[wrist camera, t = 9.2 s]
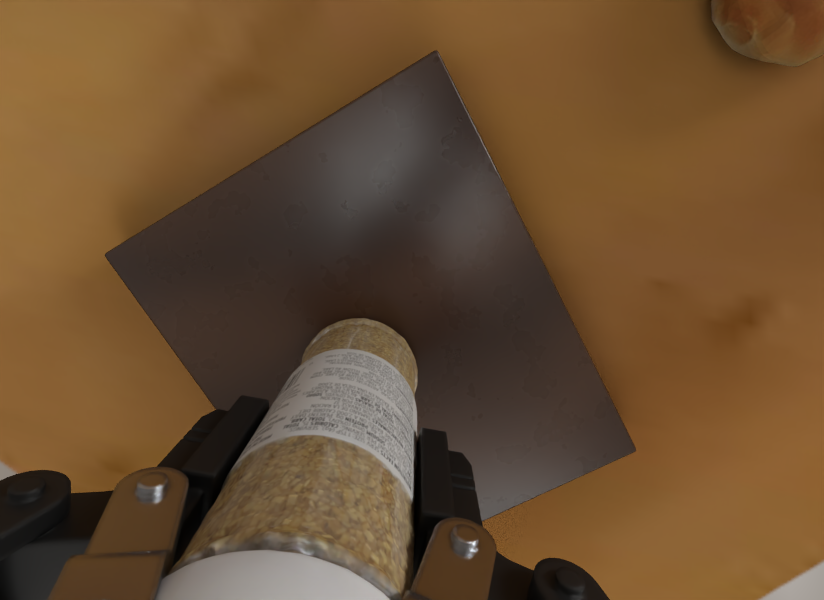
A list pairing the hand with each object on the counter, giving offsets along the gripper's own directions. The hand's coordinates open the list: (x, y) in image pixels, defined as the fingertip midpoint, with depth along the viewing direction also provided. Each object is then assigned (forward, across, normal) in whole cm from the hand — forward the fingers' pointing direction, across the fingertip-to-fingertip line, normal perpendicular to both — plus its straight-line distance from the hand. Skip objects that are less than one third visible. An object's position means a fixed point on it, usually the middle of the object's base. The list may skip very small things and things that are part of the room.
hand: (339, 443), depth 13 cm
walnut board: (+7, -1, -1) cm, 7 cm away
